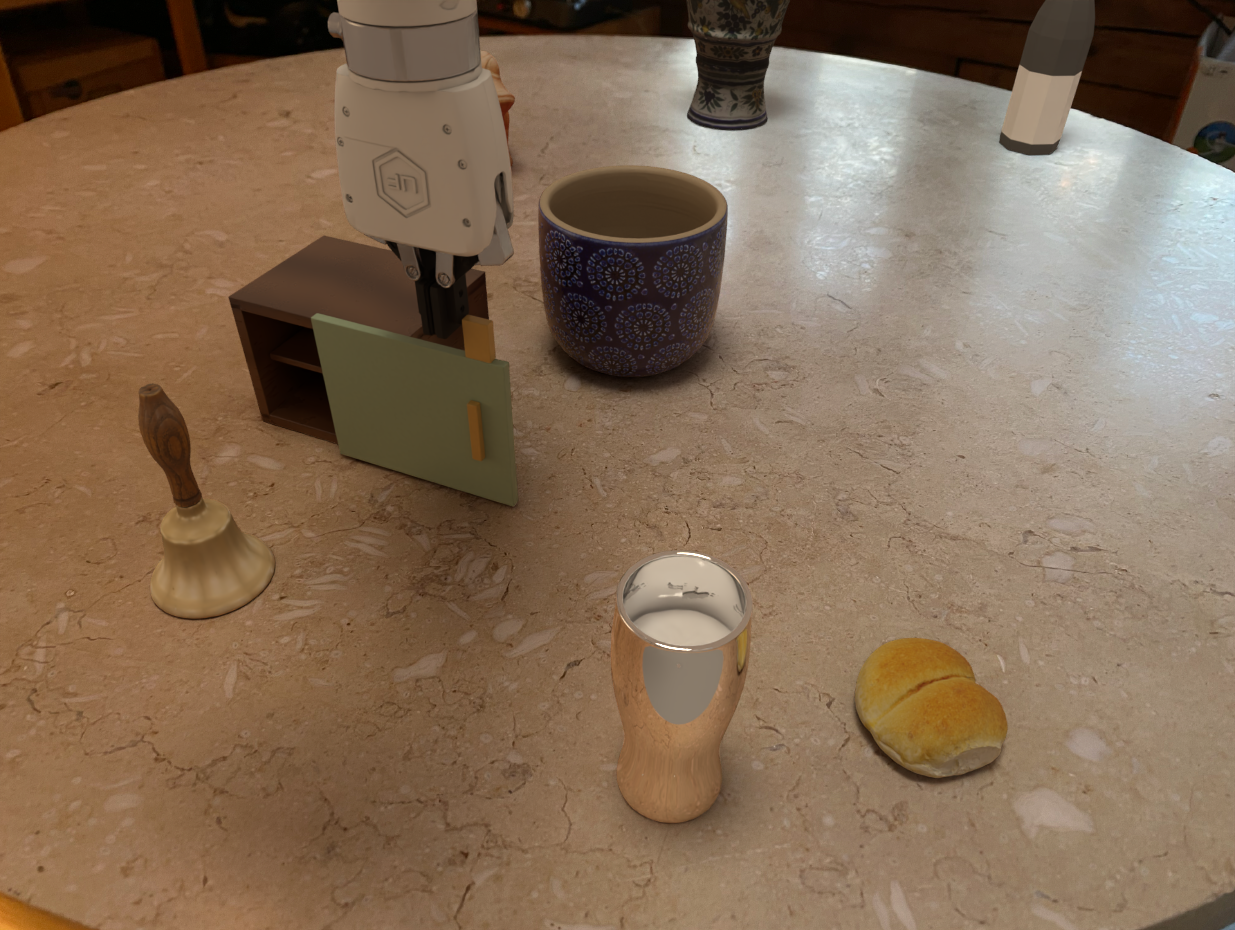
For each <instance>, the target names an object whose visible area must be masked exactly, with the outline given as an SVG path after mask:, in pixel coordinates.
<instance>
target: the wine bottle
mask: <svg viewBox="0 0 1235 930" xmlns="http://www.w3.org/2000/svg"><path fill="white" fill-rule="evenodd" d="M1095 3H1096V2H1095V0H1044V2H1043V3H1042V5H1041V6H1040V7H1039V9H1038V11H1037V13H1036V15H1035V16H1034V19H1033V20H1032V23H1031V24H1030V27H1029V29H1028V32H1027V36H1026V39H1025V43H1024V46H1023V51H1022V54H1021V58H1020V61H1019V65H1018V69H1017V72H1016V76H1015V80H1014V83H1013V87H1012V90H1011V94H1010V98H1009V101H1008V106H1007V108H1006V113H1005V116H1004V120H1003V124H1002V127H1001V130H1000V134H999V139H998V140H999V141H998V143H999V144H1000V145H1002V146H1003V147H1004V148H1005V149H1006V150H1007V151H1011V152H1014V153H1018V154H1023V155H1027V156H1050V155H1051V154H1052V153H1053V152H1055V151H1056V150H1057V149H1058V147H1059V145H1060V142H1061V139H1062V136H1063V133H1064V129H1065V126H1066V124H1067V121H1068V117H1069V114H1070V111H1071V108H1072V104H1073V103H1074V102H1073V101H1074V98H1075V95H1076V92H1077V89H1078V85H1079V82H1080V80H1081V76H1082V73H1083V70H1084V67H1085V63H1086V60H1087V57H1088V54H1089V50H1090V47H1091V44H1092V41H1093V38H1094V33H1095V23H1096V7H1095V5H1096V4H1095Z"/></svg>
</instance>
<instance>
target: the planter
mask: <svg viewBox="0 0 1235 930" xmlns="http://www.w3.org/2000/svg"><path fill="white" fill-rule="evenodd" d="M537 210H538V211H537V213H538V215H537V217H538V218H537V222H538V223H537V226H538V254H539V270H540V283H541V284H540V285H541V293H542V301H543V307H544V308H543V309H544V313H545V318H546V323H547V325H548V328H549V332H550V333H551V335H552V336H553V338H554V340H555V341H556V343H557V344H558V345H559V347H560V348H561V350H563V351H564V353H565V354H567V355H568V356H569V357H570V358H572V359H573V360H574V361H575V362H577V363H578V364H579V365H581V366H583V367H585V368H587V369H590V370H592V371H595V372H598V373H600V374H605V375H608V376H614V377H621V378H641V377H650V376H654V375H658V374H661V373H665V372H668V371H671V370H673V369H675V368H677V367H679V366H680V365H682V364H684V363H685V362H686V361H688V360H689V359H691V358H692V357H693V356H694V355H695V354H696V353H697V352H698V351H699V350H700V349H701V348H702V347H703V345H704V344H705V342H706V341H707V339H708V338H709V336H710V334H711V331H712V328H713V326H714V323H715V320H716V315H717V310H718V305H719V300H720V296H721V289H722V283H723V282H722V281H723V272H724V266H725V265H724V264H725V256H726V246H727V245H726V244H727V234H728V217H729V215H728V214H729V206H728V201H727V200H726V197H725V196H724V194H723V193H722V192H721V191H720V190H719V189H718V188H717V187H716V186H714V185H713V184H712V183H710V182H708V181H706V180H704V179H702V178H700V177H698V176H695V175H692V174H689V173H686V172H683V171H680V170H675V169H671V168H665V167H661V166H660V167H658V166H651V165H633V164H631V165H630V164H628V165H627V164H626V165H622V164H621V165H608V166H607V165H606V166H600V167H592V168H588V169H584V170H579V171H575V172H573V173H569V174H567V175H565V176H563V177H560V178H558V179H557V180H555V181H554V182H552V183H550V184H549V185H548V186H547V187H546V188H545V189H544V190H543V191H542V192H541V194H540V196H539V200H538V209H537Z"/></svg>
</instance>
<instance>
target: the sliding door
mask: <svg viewBox="0 0 1235 930" xmlns="http://www.w3.org/2000/svg"><path fill="white" fill-rule="evenodd" d="M311 322H312V326H313V331H314V335H315V340H316V345H317V349H318V354H319V358H320V363H321V367H322V372H323V377H324V381H325V386H326V390H327V395H328V400H329V404H330V409H331V413H332V418H333V423H334V427H335V432H336V436H337V441H338V444H337V445H338V449H339V454H340V455H344V456H347V457H350V458H352V459H357V460H359V461H363V462H366V463H369V464H372V465H376V466H379V467H383V468H384V469H385V468H386V469H388V470H393V471H396V472H399V473H402V474H405V475H409V476H411V477H415V478H418V479H420V480H421V479H422V480H425V481H428V482H432V483H435V484H438V485H441V486H444V487H448V488H450V489H454V490H457V491H461V492H463V493H466V494H467V493H468V494H471V495H474V496H477V497H480V498H484V499H487V500H490V501H494V502H497V503H499V504H504V505H507V506H508V507H509V506H510V507H513V508H514V507H515V506H516V505H517V503H518V502H519V491H518V478H517V476H518V475H517V462H516V461H517V460H516V447H515V432H514V420H513V419H514V418H513V403H512V389H511V374H510V362H509V361H506V360H503V359H499V358H497V354H496V342H495V330H494V329H495V328H494V320H492V319H489V320H488V319H484V318H480V317H476V316H472V315H466V316H465V317H464V318H463V319H462V327H463V336H464V346H465V351H464V350H460V349H456V348H452V347H448V346H444V345H440V344H436V343H432V342H428V341H425V340H421V339H417V338H413V337H409V336H405V335H401V334H397V333H393V332H389V331H385V330H381V329H378V328H374V327H370V326H366V325H362V324H358V323H354V322H350V321H346V320H342V319H338V318H334V317H331V316H327V315H323V314H319V313H316V314H315V315H314V316H312V317H311Z"/></svg>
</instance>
